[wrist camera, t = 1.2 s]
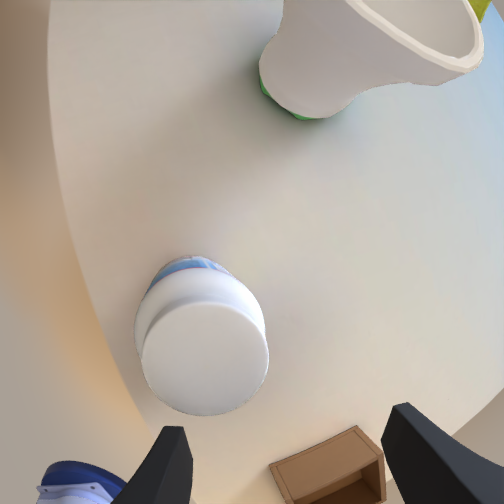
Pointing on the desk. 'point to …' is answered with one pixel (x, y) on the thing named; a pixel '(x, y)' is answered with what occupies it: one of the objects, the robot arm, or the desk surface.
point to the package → (334, 472)
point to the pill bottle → (201, 338)
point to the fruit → (479, 7)
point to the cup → (365, 50)
